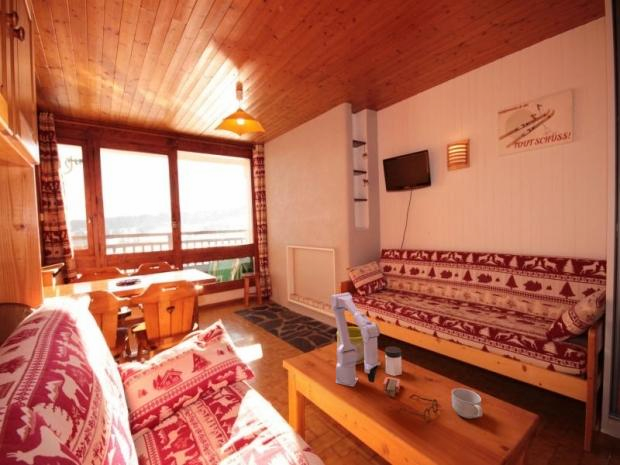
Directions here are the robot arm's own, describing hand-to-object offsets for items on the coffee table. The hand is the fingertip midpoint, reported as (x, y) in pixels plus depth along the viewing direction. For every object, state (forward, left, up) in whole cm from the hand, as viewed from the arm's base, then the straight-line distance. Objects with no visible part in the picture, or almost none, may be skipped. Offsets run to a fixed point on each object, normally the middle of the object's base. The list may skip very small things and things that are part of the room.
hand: (371, 381), depth 130 cm
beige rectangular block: (+7, +12, -10) cm, 17 cm away
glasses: (+19, +2, -10) cm, 21 cm away
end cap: (+6, +15, -9) cm, 19 cm away
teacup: (+38, +6, -10) cm, 40 cm away
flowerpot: (-20, +35, -10) cm, 41 cm away
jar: (+4, +30, -10) cm, 32 cm away
